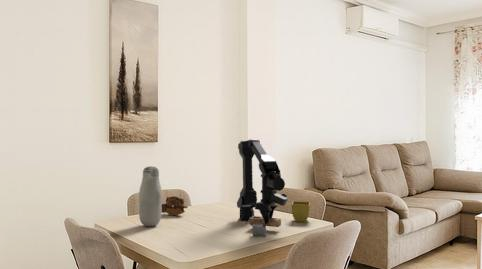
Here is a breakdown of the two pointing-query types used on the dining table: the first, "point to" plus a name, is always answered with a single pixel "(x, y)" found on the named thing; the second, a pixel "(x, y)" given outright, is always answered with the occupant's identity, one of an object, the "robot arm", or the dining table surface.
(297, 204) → the flower pot
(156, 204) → the grey tall rounded cylinder
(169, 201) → the wooden carving
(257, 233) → the keeper
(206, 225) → the dining table surface
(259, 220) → the link
